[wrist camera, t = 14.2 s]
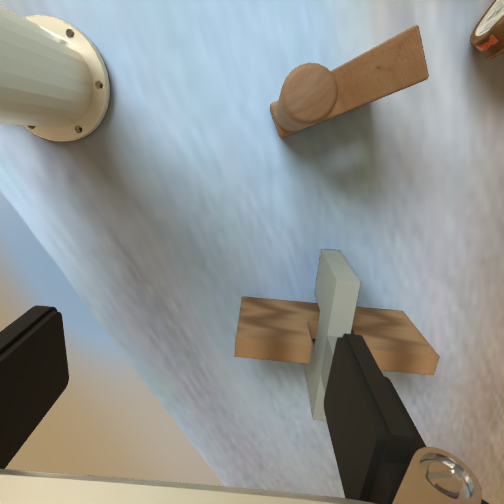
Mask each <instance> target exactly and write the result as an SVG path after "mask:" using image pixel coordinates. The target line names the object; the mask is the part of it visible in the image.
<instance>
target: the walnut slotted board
mask: <svg viewBox="0 0 504 504" xmlns="http://www.w3.org/2000/svg"><path fill="white" fill-rule="evenodd" d="M319 316H320V309H319V306H318V303H308V302H297V301H285V300H274V299H263V298H252V297H242V302H241V308H240V315H239V321H238V327H237V334H236V342H235V356H234V357H244V358H255V359H266V360H276V361H287V362H298V363H309V362H310V356H311V349H312V342H311V338H312V339H316V334H317V328H318V322H319ZM351 334H357V335H362V336H363V338H364V340H365V342H366V344H367V346H368V348H369V350H370V351H371V353H372V355H373V357H374V359H375V361H376V363H377V365H378V367H379V369H380V370H384V371H395V372H406V373H416V374H427V375H434V373H435V370H436V367H437V363H438V360H439V355H438V354H437V353H436V352H435V350H434V349H433V348H432V347H431V345H430V344H429V343H428V342H427V341H426V339H425V338H424V337H423V336H422V334H421V333H420V332H419V331H418V329H417V328H416V327H415V326H414V324H413V323H412V322H411V321H410V319H409V318H408V317H407V316H406V314H405V313H404V312H403V311H397V310H386V309H374V308H363V307H356V308H355V313H354V318H353V324H352V329H351Z"/></svg>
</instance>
